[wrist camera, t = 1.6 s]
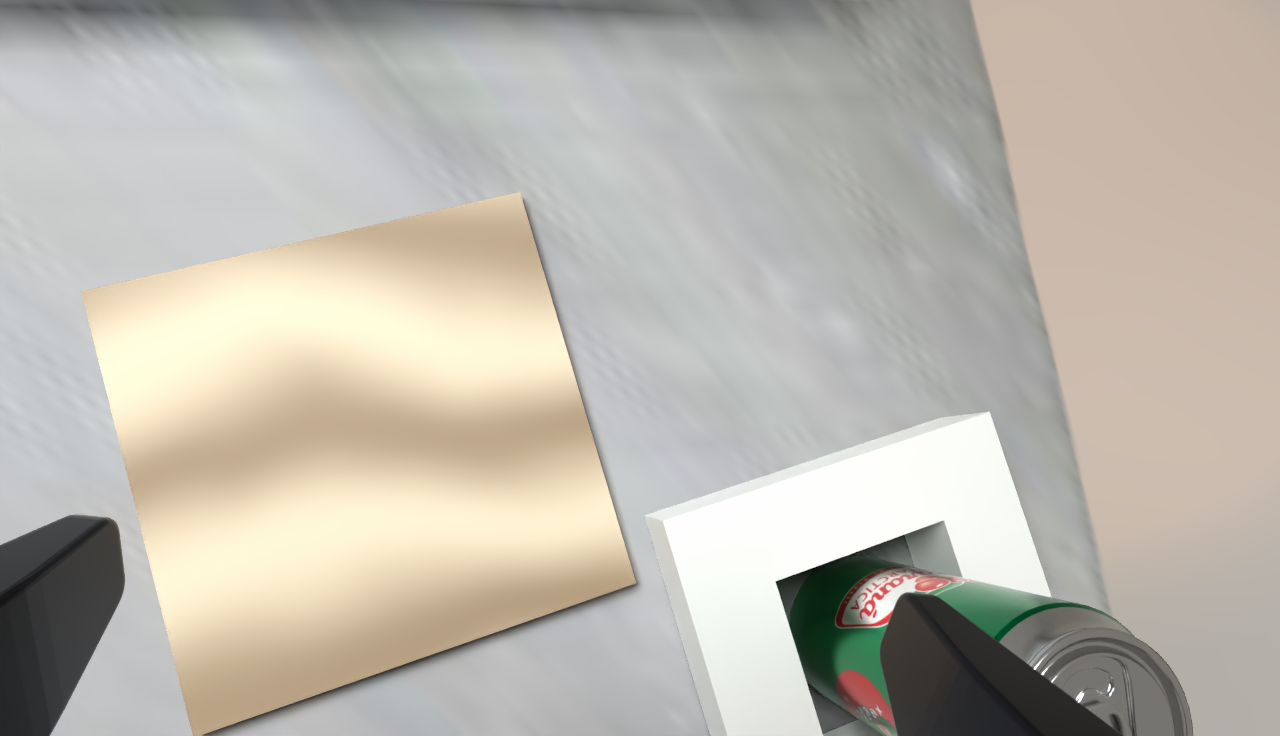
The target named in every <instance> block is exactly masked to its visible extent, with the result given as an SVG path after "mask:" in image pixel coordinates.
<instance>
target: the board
mask: <svg viewBox="0 0 1280 736" xmlns="http://www.w3.org/2000/svg"><path fill="white" fill-rule="evenodd" d="M81 293H82V297H83V301H84V305H85V309H86V313H87V317H88V321H89V325H90V328H91V332H92V336H93V340H94V344H95V348H96V352H97V356H98V360H99V364H100V368H101V372H102V376H103V380H104V384H105V388H106V392H107V396H108V400H109V404H110V408H111V412H112V416H113V420H114V424H115V428H116V432H117V436H118V440H119V444H120V448H121V452H122V456H123V459H124V463H125V467H126V471H127V475H128V479H129V483H130V487H131V491H132V495H133V499H134V503H135V507H136V511H137V515H138V519H139V523H140V527H141V531H142V535H143V539H144V543H145V547H146V551H147V555H148V559H149V563H150V567H151V571H152V575H153V579H154V583H155V587H156V590H157V594H158V598H159V602H160V606H161V610H162V614H163V618H164V622H165V626H166V630H167V634H168V638H169V642H170V646H171V650H172V654H173V658H174V662H175V666H176V670H177V674H178V678H179V682H180V686H181V690H182V694H183V698H184V702H185V706H186V710H187V714H188V718H189V721H190V725H191V729H192V733H193V736H200V735H203V734H206V733H209V732H212V731H214V730H217V729H220V728H223V727H226V726H229V725H232V724H234V723H237V722H240V721H243V720H246V719H249V718H252V717H254V716H257V715H260V714H263V713H266V712H269V711H272V710H275V709H277V708H280V707H283V706H286V705H289V704H292V703H295V702H297V701H300V700H303V699H306V698H309V697H312V696H315V695H317V694H320V693H323V692H326V691H329V690H332V689H335V688H338V687H340V686H343V685H346V684H349V683H352V682H355V681H358V680H360V679H363V678H366V677H369V676H372V675H375V674H378V673H381V672H383V671H386V670H389V669H392V668H395V667H398V666H401V665H403V664H406V663H409V662H412V661H415V660H418V659H421V658H423V657H426V656H429V655H432V654H435V653H438V652H441V651H444V650H446V649H449V648H452V647H455V646H458V645H461V644H464V643H466V642H469V641H472V640H475V639H478V638H481V637H484V636H487V635H489V634H492V633H495V632H498V631H501V630H504V629H507V628H509V627H512V626H515V625H518V624H521V623H524V622H527V621H529V620H532V619H535V618H538V617H541V616H544V615H547V614H550V613H552V612H555V611H558V610H561V609H564V608H567V607H570V606H572V605H575V604H578V603H581V602H584V601H587V600H590V599H592V598H595V597H598V596H601V595H604V594H607V593H610V592H613V591H615V590H618V589H621V588H624V587H627V586H630V585H633V584H635V583H636V581H635V577H634V574H633V571H632V567H631V564H630V560H629V557H628V554H627V550H626V547H625V544H624V540H623V537H622V534H621V530H620V527H619V523H618V520H617V517H616V513H615V510H614V507H613V503H612V500H611V497H610V493H609V490H608V486H607V483H606V480H605V476H604V473H603V470H602V466H601V463H600V459H599V456H598V453H597V449H596V446H595V443H594V439H593V436H592V433H591V429H590V426H589V422H588V419H587V416H586V412H585V409H584V406H583V402H582V399H581V396H580V392H579V389H578V385H577V382H576V379H575V375H574V372H573V369H572V365H571V362H570V358H569V355H568V352H567V348H566V345H565V342H564V338H563V335H562V332H561V328H560V325H559V321H558V318H557V315H556V311H555V308H554V305H553V301H552V298H551V294H550V291H549V288H548V284H547V281H546V278H545V274H544V271H543V268H542V264H541V261H540V257H539V254H538V251H537V247H536V244H535V241H534V237H533V234H532V231H531V227H530V224H529V220H528V217H527V214H526V210H525V207H524V204H523V200H522V197H521V193H520V192H518V193H513V194H509V195H505V196H500V197H496V198H491V199H487V200H483V201H478V202H474V203H469V204H465V205H461V206H456V207H452V208H447V209H443V210H438V211H434V212H430V213H425V214H421V215H416V216H412V217H408V218H403V219H399V220H394V221H390V222H386V223H381V224H377V225H372V226H368V227H363V228H359V229H355V230H350V231H346V232H341V233H337V234H333V235H328V236H324V237H319V238H315V239H310V240H306V241H302V242H297V243H293V244H288V245H284V246H280V247H275V248H271V249H266V250H262V251H258V252H253V253H249V254H244V255H240V256H235V257H231V258H227V259H222V260H218V261H213V262H209V263H205V264H200V265H196V266H191V267H187V268H183V269H178V270H174V271H169V272H165V273H160V274H156V275H152V276H147V277H143V278H138V279H134V280H130V281H125V282H121V283H116V284H112V285H107V286H103V287H99V288H94V289H90V290H85V291H81Z"/></svg>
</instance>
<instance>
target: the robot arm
mask: <svg viewBox="0 0 1280 736" xmlns="http://www.w3.org/2000/svg"><path fill="white" fill-rule="evenodd" d="M124 585H125V574H124V565H123V557H122V549H121V541H120V533H119V528H118V525H117V524H116V522H115V521H114V520H112V519H111V518H108V517H99V516H88V515H69V516H67V517H64V518H62V519H59V520H57V521H55V522H53V523H50V524H48V525H46V526H43V527H41V528H39V529H36V530H34V531H32V532H30V533H27V534H25V535H23V536H20V537H18V538H16V539H13V540H11V541H9V542H7V543H4V544H2V545H0V736H50V734H51V733H52V731H53V729H54V727H55V726H56V724H57V722H58V720H59V718H60V717H61V715H62V713H63V711H64V709H65V707H66V705H67V703H68V701H69V700H70V698H71V696H72V694H73V692H74V690H75V688H76V686H77V684H78V682H79V680H80V678H81V676H82V674H83V672H84V670H85V668H86V666H87V664H88V662H89V661H90V659H91V657H92V655H93V653H94V651H95V649H96V647H97V645H98V643H99V641H100V639H101V637H102V635H103V633H104V631H105V629H106V627H107V625H108V623H109V622H110V620H111V618H112V616H113V614H114V612H115V610H116V608H117V606H118V604H119V602H120V600H121V597H122V594H123V590H124ZM880 663H881V668H882V672H883V676H884V681H885V685H886V689H887V693H888V698H889V702H890V706H891V711H892V715H893V719H894V724H895V728H896V732H897V736H1123V735H1122V734H1120V733H1119V732H1118V731H1116V730H1115V729H1114V728H1113V727H1111V726H1110V725H1109V724H1107V723H1106V722H1105V721H1103V720H1102V719H1101V718H1099V717H1098V716H1097V715H1095V714H1094V713H1093V712H1091V711H1090V710H1089V709H1087V708H1086V707H1085V706H1083V705H1082V704H1081V703H1079V702H1078V701H1077V700H1075V699H1074V698H1073V697H1071V696H1070V695H1069V694H1067V693H1066V692H1065V691H1063V690H1062V689H1061V688H1059V687H1058V686H1057V685H1055V684H1054V683H1053V682H1051V681H1050V680H1049V679H1047V678H1046V677H1045V676H1043V675H1042V674H1041V673H1039V672H1038V671H1037V670H1035V669H1034V668H1033V667H1031V666H1030V665H1029V664H1027V663H1026V662H1025V661H1023V660H1022V659H1021V658H1019V657H1018V656H1017V655H1015V654H1014V653H1013V652H1011V651H1010V650H1009V649H1007V648H1006V647H1005V646H1003V645H1002V644H1001V643H999V642H998V641H997V640H995V639H994V638H993V637H991V636H990V635H989V634H987V633H986V632H985V631H983V630H982V629H981V628H979V627H978V626H977V625H975V624H974V623H973V622H971V621H970V620H969V619H968V618H966V617H965V616H964V615H962V614H961V613H960V612H958V611H957V610H956V609H954V608H953V607H952V606H950V605H949V604H948V603H946V602H945V601H944V600H942V599H941V598H939V597H938V596H936V595H933V594H925V593H914V592H906V593H903V594H901V595H900V597H899V598H898V599H897V601H896V604H895V606H894V609H893V611H892V614H891V617H890V619H889V622H888V624H887V627H886V630H885V632H884V635H883V637H882V640H881V644H880Z"/></svg>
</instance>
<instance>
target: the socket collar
mask: <svg viewBox="0 0 1280 736" xmlns="http://www.w3.org/2000/svg"><path fill="white" fill-rule="evenodd" d="M644 517H645V520H646V524H647V527H648V530H649V534H650V537H651V540H652V544H653V547H654V550H655V554H656V557H657V560H658V564H659V567H660V570H661V574H662V577H663V580H664V584H665V587H666V591H667V594H668V597H669V601H670V604H671V607H672V611H673V614H674V617H675V621H676V624H677V627H678V631H679V634H680V637H681V641H682V644H683V647H684V651H685V654H686V657H687V661H688V664H689V667H690V671H691V674H692V677H693V681H694V684H695V687H696V691H697V694H698V697H699V701H700V704H701V707H702V711H703V714H704V717H705V721H706V724H707V727H708V731H709V734H710V736H883V735H882V734H880V733H879V732H877V731H876V730H874V729H873V728H871V727H870V726H869V725H867V724H866V723H864V722H863V721H861V720H860V719H858V720H855V721H853V722H850V723H848V724H846V725H843V726H841V727H838V728H836V729H834V730H831V731H829V732H826V733H824V734H823V733H822V730H821V727H820V723H819V720H818V717H817V714H816V710H815V707H814V704H813V701H812V698H811V694H810V691H809V688H808V685H807V681H806V678H805V675H804V672H803V669H802V665H801V662H800V659H799V656H798V652H797V649H796V646H795V643H794V640H793V636H792V633H791V630H790V627H789V623H788V620H787V617H786V614H785V611H784V607H783V604H782V601H781V598H780V594H779V591H778V588H777V585H776V581H778V580H781V579H784V578H786V577H789V576H792V575H795V574H797V573H800V572H803V571H806V570H808V569H811V568H814V567H817V566H819V565H822V564H825V563H828V562H830V561H833V560H836V559H839V558H841V557H844V556H847V555H850V554H852V553H855V552H858V551H861V550H863V549H866V548H869V547H872V546H874V545H877V544H880V543H883V542H885V541H888V540H891V539H894V538H896V537H899V536H902V535H905V538H906V542H907V545H908V548H909V551H910V554H911V557H912V560H913V563H914V566H915V567H917V568H921V569H926V570H930V571H935V572H939V573H944V574H948V575H952V576H957V577H961V578H966V579H970V580H975V581H979V582H984V583H988V584H993V585H997V586H1002V587H1006V588H1011V589H1015V590H1020V591H1024V592H1029V593H1033V594H1037V595H1042V596H1046V597H1051V594H1050V591H1049V588H1048V585H1047V582H1046V579H1045V576H1044V573H1043V570H1042V567H1041V564H1040V561H1039V558H1038V555H1037V552H1036V549H1035V546H1034V543H1033V540H1032V537H1031V534H1030V531H1029V528H1028V525H1027V522H1026V519H1025V516H1024V513H1023V510H1022V507H1021V504H1020V501H1019V498H1018V495H1017V492H1016V489H1015V486H1014V483H1013V480H1012V478H1011V475H1010V472H1009V469H1008V466H1007V463H1006V460H1005V457H1004V454H1003V451H1002V448H1001V445H1000V442H999V439H998V436H997V433H996V430H995V427H994V424H993V421H992V418H991V415H990V412H984V413H976V414H968V415H959V416H951V417H943V418H938V419H935V420H932V421H929V422H926V423H923V424H920V425H917V426H914V427H911V428H908V429H905V430H902V431H899V432H896V433H893V434H890V435H887V436H884V437H881V438H878V439H875V440H871V441H868V442H865V443H862V444H859V445H856V446H853V447H850V448H847V449H844V450H841V451H838V452H835V453H832V454H829V455H826V456H823V457H820V458H817V459H814V460H811V461H808V462H805V463H802V464H799V465H796V466H793V467H790V468H787V469H784V470H781V471H778V472H775V473H771V474H768V475H765V476H762V477H759V478H756V479H753V480H750V481H747V482H744V483H741V484H738V485H735V486H732V487H729V488H726V489H723V490H720V491H717V492H714V493H711V494H708V495H705V496H702V497H699V498H696V499H693V500H690V501H687V502H684V503H681V504H678V505H675V506H671V507H668V508H665V509H662V510H659V511H656V512H653V513H650V514H647V515H644ZM1051 598H1052V597H1051Z"/></svg>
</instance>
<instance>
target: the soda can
mask: <svg viewBox="0 0 1280 736" xmlns="http://www.w3.org/2000/svg"><path fill="white" fill-rule="evenodd" d="M906 592H914V593H925V594H933V595H936V596H938V597H939V598H941V599H942V600H944V601H945V602H946V603H948V604H949V605H950V606H952V607H953V608H954V609H956V610H957V611H958V612H960V613H961V614H962V615H964V616H965V617H966V618H968V619H969V620H970V621H971V622H973V623H974V624H975V625H977V626H978V627H979V628H981V629H982V630H983V631H985V632H986V633H987V634H989V635H990V636H991V637H993V638H994V639H995V640H997V641H998V642H999V643H1001V644H1002V645H1003V646H1005V647H1006V648H1007V649H1009V650H1010V651H1011V652H1013V653H1014V654H1015V655H1017V656H1018V657H1019V658H1021V659H1022V660H1023V661H1025V662H1026V663H1027V664H1029V665H1030V666H1031V667H1033V668H1034V669H1035V670H1037V671H1038V672H1039V673H1041V674H1042V675H1043V676H1045V677H1046V678H1047V679H1049V680H1050V681H1051V682H1053V683H1054V684H1055V685H1057V686H1058V687H1059V688H1061V689H1062V690H1063V691H1065V692H1066V693H1067V694H1069V695H1070V696H1071V697H1073V698H1074V699H1075V700H1077V701H1078V702H1079V703H1081V704H1082V705H1083V706H1085V707H1086V708H1087V709H1089V710H1090V711H1091V712H1093V713H1094V714H1095V715H1097V716H1098V717H1099V718H1101V719H1102V720H1103V721H1105V722H1106V723H1107V724H1109V725H1110V726H1111V727H1113V728H1114V729H1115V730H1116V731H1118V732H1119V733H1120V734H1122V735H1123V736H1193V727H1192V720H1191V715H1190V709H1189V706H1188V703H1187V700H1186V697H1185V693H1184V691H1183V689H1182V687H1181V685H1180V683H1179V681H1178V679H1177V677H1176V676H1175V674H1174V673H1173V671H1172V670H1171V668H1170V667H1169V665H1168V664H1167V663H1166V662H1165V661H1164V660H1163V658H1162V657H1161V656H1160V655H1159V654H1158V653H1157V652H1156V651H1154V650H1153V649H1152V648H1151V647H1149V646H1148V645H1147V644H1146V643H1144V642H1142V641H1141V640H1139V639H1137V638H1136V637H1134V635H1133V634H1132V633H1131V632H1130V631H1129V630H1128V629H1127V628H1125V627H1124V626H1123V625H1122V624H1121V623H1119V622H1118V621H1117V620H1116V619H1114V618H1113V617H1111V616H1109V615H1107V614H1106V613H1104V612H1102V611H1100V610H1097V609H1095V608H1092V607H1089V606H1087V605H1082V604H1078V603H1073V602H1069V601H1064V600H1060V599H1055V598H1051V597H1046V596H1042V595H1037V594H1033V593H1029V592H1024V591H1020V590H1015V589H1011V588H1006V587H1002V586H997V585H993V584H988V583H984V582H979V581H975V580H970V579H966V578H961V577H957V576H952V575H948V574H944V573H939V572H935V571H930V570H926V569H921V568H917V567H912V566H908V565H903V564H899V563H894V562H890V561H885V560H881V559H876V558H872V557H867V556H846V557H841V558H839V559H836V560H833V561H830V562H828V563H826V564H825V565H823V566H821V567H820V568H819V569H817V570H816V571H815V572H814V573H813V574H812V575H811V576H810V577H809V578H808V579H807V580H806V581H805V583H804V584H803V586H802V587H801V589H800V590H799V592H798V594H797V597H796V599H795V601H794V604H793V608H792V611H791V616H790V623H789V627H790V630H791V633H792V636H793V640H794V643H795V646H796V649H797V652H798V656H799V659H800V662H801V665H802V669H803V672H804V675H805V678H806V680H807V681H808V682H809V683H810V684H811V685H812V687H813V688H815V689H816V690H817V691H818V692H820V693H821V694H822V695H824V696H825V697H827V698H828V699H830V700H831V701H833V702H834V703H836V704H837V705H839V706H840V707H842V708H843V709H845V710H846V711H848V712H849V713H851V714H852V715H854V716H855V717H857V718H858V719H860V720H861V721H863V722H864V723H866V724H867V725H869V726H870V727H871V728H873V729H874V730H876V731H877V732H879V733H880V734H882V735H883V736H897V732H896V728H895V724H894V719H893V715H892V711H891V706H890V702H889V698H888V693H887V689H886V685H885V681H884V676H883V672H882V668H881V663H880V644H881V640H882V637H883V635H884V632H885V630H886V627H887V624H888V622H889V619H890V617H891V614H892V611H893V609H894V606H895V604H896V601H897V599H898V598H899V597H900V595H901V594H903V593H906Z"/></svg>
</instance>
